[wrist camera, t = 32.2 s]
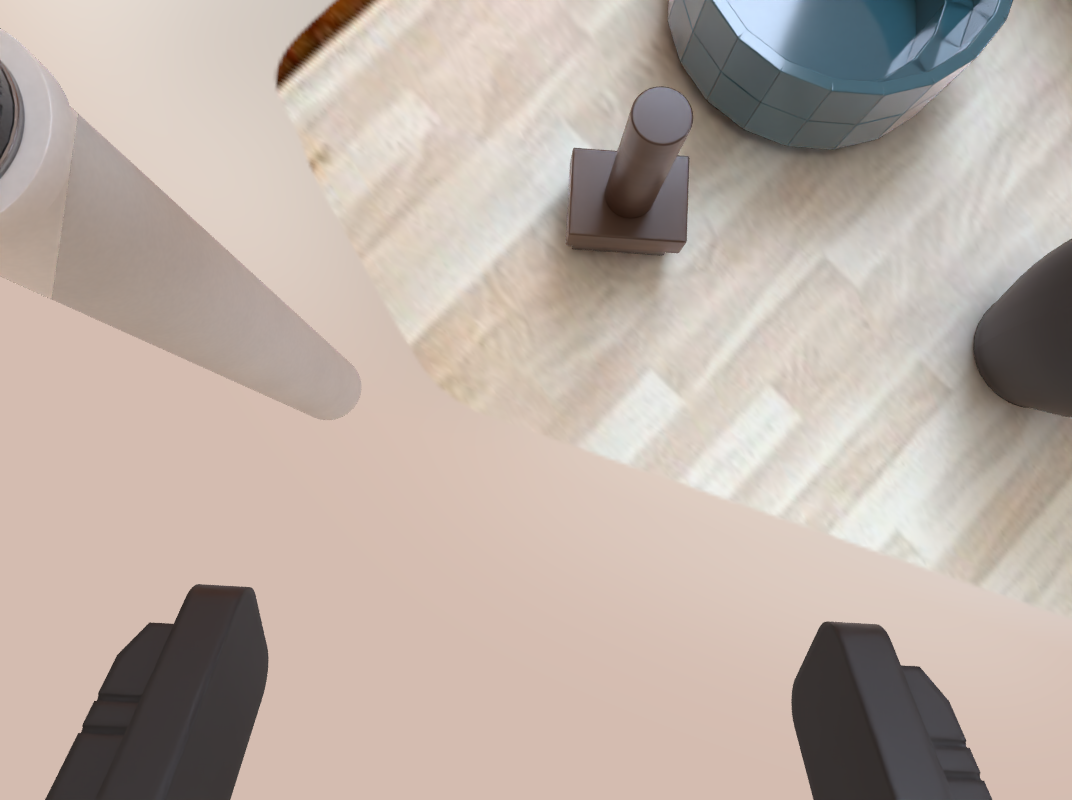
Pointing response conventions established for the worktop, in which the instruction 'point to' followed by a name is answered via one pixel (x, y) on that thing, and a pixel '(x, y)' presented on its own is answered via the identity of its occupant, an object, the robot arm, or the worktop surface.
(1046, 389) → the mug
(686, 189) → the brown stamp
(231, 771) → the robot arm
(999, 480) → the worktop surface
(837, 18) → the bowl
